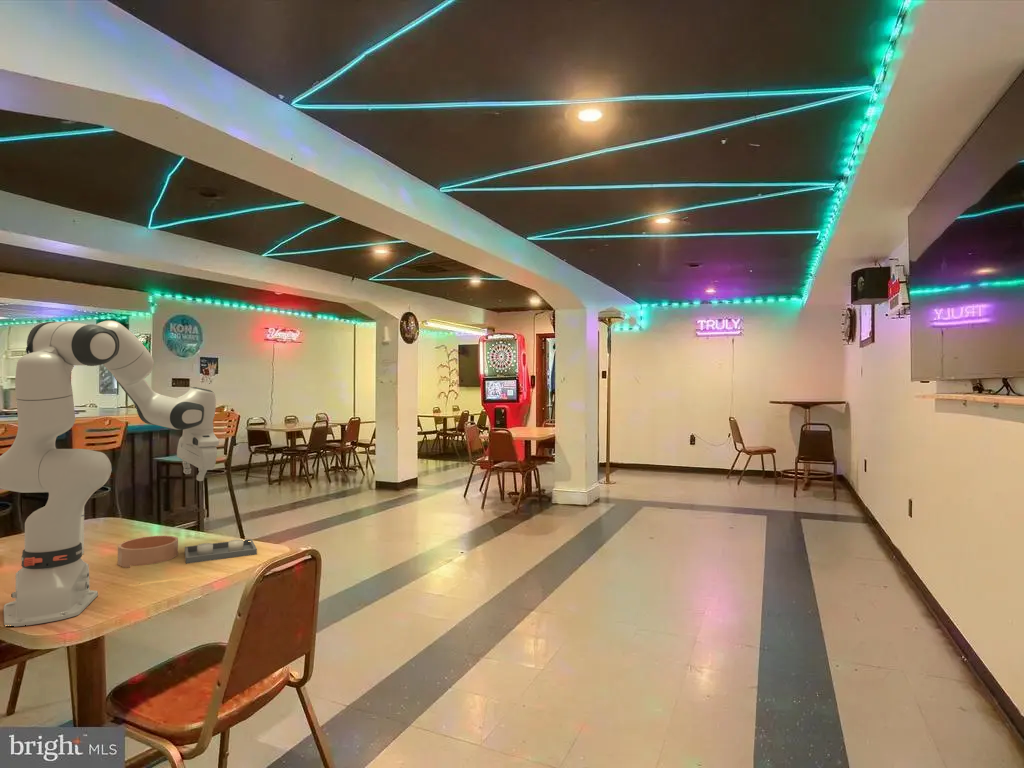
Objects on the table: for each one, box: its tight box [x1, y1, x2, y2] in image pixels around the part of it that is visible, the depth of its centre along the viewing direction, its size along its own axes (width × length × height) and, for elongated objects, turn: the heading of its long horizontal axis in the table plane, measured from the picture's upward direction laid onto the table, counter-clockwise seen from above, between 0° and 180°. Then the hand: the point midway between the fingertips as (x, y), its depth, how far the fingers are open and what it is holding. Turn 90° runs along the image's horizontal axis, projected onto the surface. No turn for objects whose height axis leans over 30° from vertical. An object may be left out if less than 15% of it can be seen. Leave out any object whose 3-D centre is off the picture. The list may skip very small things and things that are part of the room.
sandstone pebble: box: [227, 539, 244, 552], centre depth 191 cm, size 4×4×3 cm
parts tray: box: [184, 538, 258, 565], centre depth 188 cm, size 14×20×2 cm
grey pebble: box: [197, 542, 213, 556], centre depth 186 cm, size 4×4×3 cm
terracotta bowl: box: [117, 535, 179, 568], centre depth 183 cm, size 16×16×6 cm
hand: (193, 477), depth 193 cm, fingers open, 8 cm apart
